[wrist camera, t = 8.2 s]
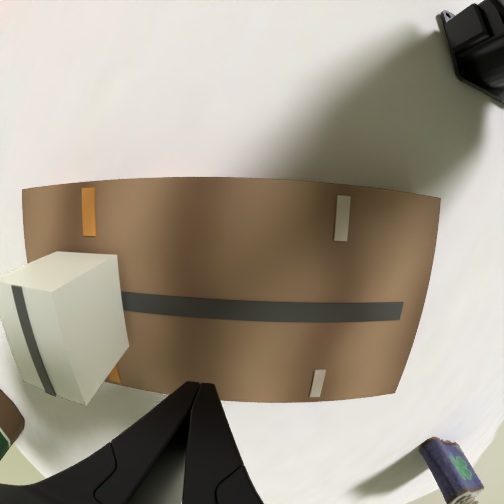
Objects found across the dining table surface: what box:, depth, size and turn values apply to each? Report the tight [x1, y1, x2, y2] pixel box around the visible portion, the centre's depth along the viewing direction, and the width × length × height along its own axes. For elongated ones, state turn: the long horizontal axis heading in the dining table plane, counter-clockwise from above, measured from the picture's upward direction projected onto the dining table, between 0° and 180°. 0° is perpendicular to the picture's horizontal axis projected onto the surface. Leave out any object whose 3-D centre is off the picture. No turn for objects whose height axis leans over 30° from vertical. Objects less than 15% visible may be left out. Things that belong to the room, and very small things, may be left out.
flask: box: [419, 437, 484, 504], centre depth 15 cm, size 9×3×11 cm, turn 55°
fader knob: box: [0, 251, 129, 406], centre depth 10 cm, size 4×5×5 cm
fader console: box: [22, 177, 441, 403], centre depth 14 cm, size 23×12×3 cm, turn 88°
